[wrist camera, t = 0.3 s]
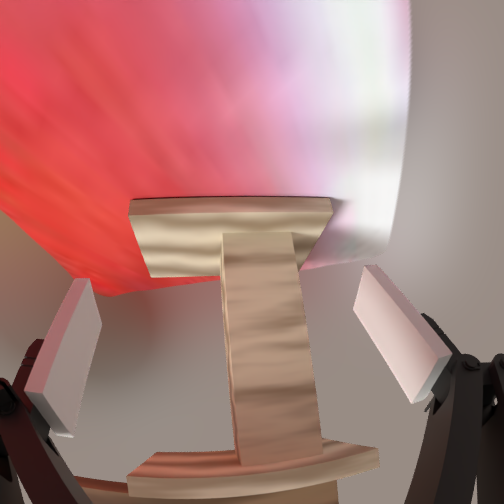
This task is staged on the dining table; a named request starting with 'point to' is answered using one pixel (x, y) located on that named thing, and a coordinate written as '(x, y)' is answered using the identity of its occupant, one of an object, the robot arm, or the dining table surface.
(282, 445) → the shelf stand
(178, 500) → the brown block
